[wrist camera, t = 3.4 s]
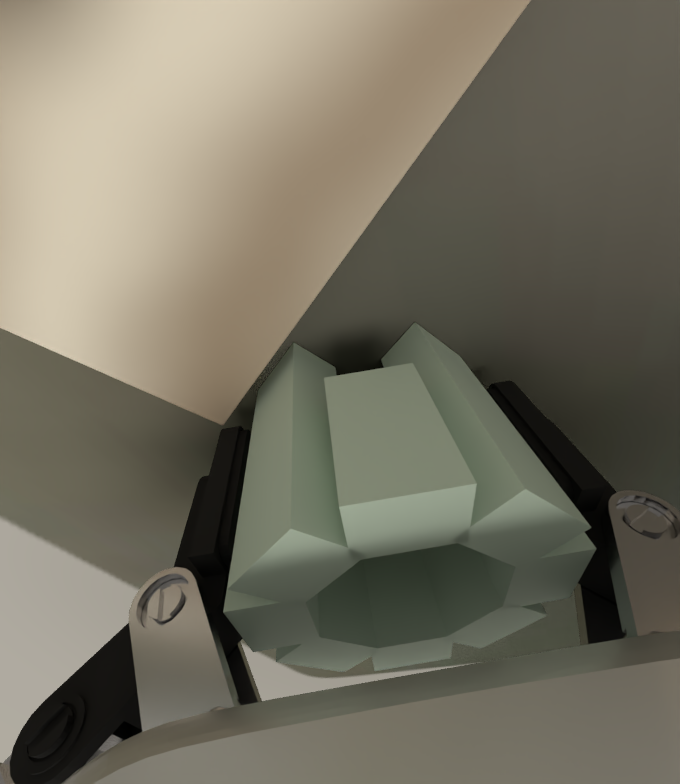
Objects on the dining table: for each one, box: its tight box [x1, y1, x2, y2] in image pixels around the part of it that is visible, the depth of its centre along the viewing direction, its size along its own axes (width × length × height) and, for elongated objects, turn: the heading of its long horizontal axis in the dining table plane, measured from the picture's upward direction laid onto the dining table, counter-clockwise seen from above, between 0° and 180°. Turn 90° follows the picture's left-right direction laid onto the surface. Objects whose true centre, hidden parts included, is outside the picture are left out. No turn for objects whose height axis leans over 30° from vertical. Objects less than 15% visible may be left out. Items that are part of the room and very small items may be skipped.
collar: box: [223, 322, 596, 672], centre depth 9 cm, size 7×7×6 cm
